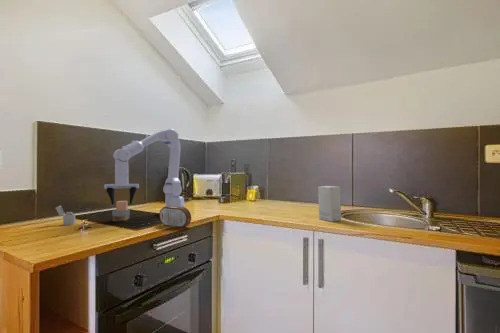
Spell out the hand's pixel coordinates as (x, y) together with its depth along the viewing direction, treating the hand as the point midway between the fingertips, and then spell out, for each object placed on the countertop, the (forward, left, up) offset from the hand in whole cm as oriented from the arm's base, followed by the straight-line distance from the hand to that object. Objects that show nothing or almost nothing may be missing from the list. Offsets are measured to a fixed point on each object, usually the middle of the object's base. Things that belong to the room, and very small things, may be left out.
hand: (122, 203), depth 126 cm
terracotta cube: (0, 0, -3) cm, 3 cm away
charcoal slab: (0, 0, -5) cm, 5 cm away
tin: (-29, +11, -8) cm, 32 cm away
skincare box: (-96, -7, -8) cm, 97 cm away
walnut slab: (+1, 0, -8) cm, 8 cm away
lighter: (+19, +11, -8) cm, 23 cm away
